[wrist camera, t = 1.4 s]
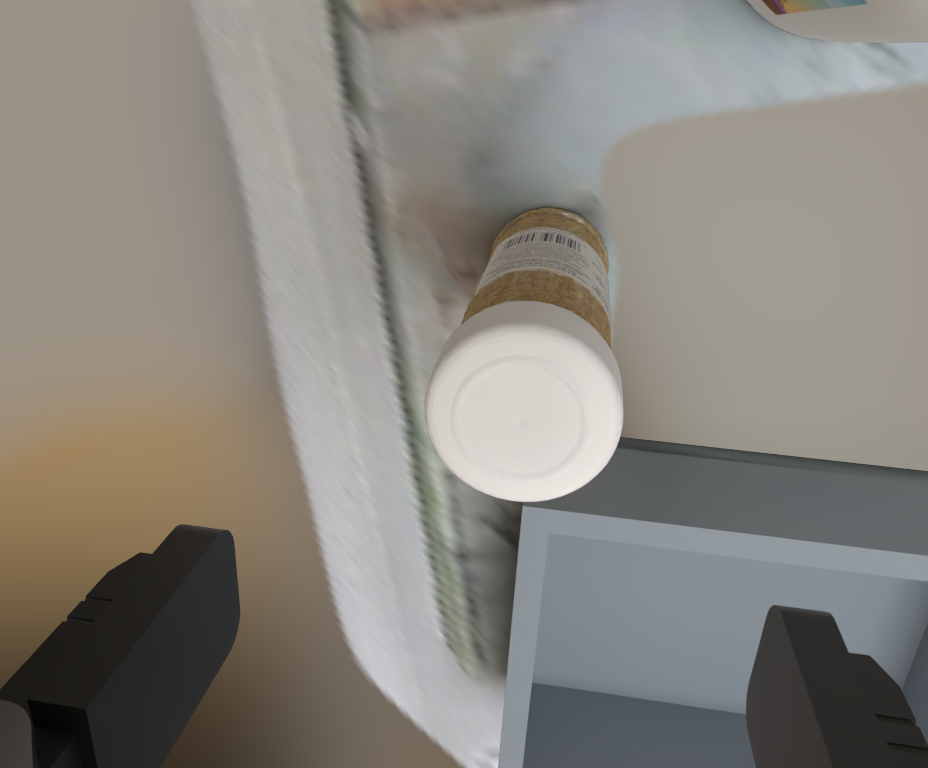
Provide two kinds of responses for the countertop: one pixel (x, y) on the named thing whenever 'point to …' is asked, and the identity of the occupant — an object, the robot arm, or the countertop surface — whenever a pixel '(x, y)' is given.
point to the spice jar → (531, 366)
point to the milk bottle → (849, 19)
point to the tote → (700, 598)
